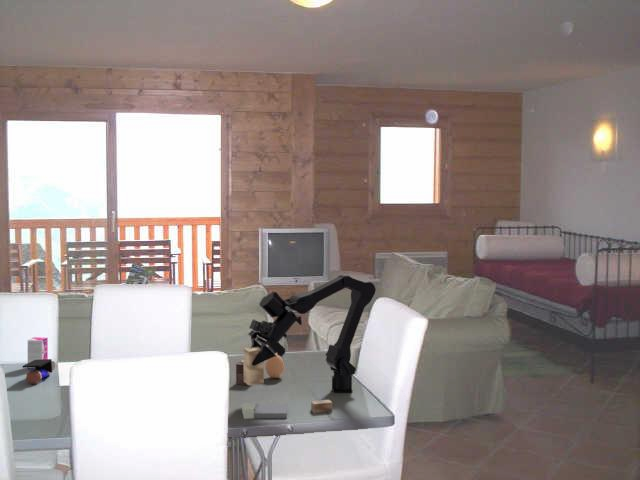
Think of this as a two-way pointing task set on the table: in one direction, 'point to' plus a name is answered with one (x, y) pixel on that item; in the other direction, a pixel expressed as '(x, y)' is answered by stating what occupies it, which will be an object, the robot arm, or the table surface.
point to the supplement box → (37, 349)
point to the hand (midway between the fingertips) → (249, 363)
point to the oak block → (252, 367)
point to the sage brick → (248, 411)
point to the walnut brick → (321, 406)
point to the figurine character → (39, 370)
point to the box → (240, 373)
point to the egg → (274, 366)
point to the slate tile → (270, 410)
